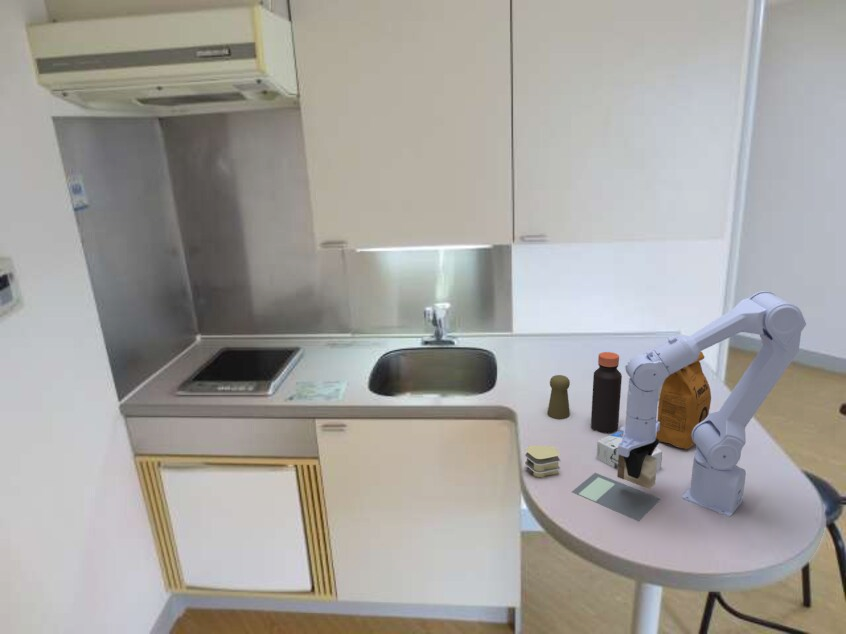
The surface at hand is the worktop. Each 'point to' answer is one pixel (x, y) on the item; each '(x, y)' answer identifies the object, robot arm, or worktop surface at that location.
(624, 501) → the rubber mat
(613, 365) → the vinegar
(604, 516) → the worktop surface
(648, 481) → the card case
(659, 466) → the ink box
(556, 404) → the olive pawn
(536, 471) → the beige stacked block
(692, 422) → the coffee package
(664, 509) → the worktop surface
